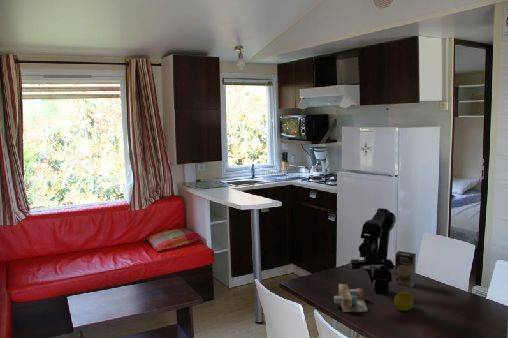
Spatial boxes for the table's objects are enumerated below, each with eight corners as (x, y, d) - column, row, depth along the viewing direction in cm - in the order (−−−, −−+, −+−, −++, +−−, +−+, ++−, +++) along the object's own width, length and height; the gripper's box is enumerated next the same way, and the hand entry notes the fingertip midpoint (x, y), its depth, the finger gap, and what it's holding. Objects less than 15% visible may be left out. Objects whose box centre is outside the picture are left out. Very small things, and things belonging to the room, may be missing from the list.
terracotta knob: (361, 295, 215) (361, 286, 214) (363, 299, 210) (363, 289, 210) (341, 295, 215) (341, 286, 215) (342, 298, 211) (342, 289, 210)
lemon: (404, 316, 195) (405, 298, 194) (389, 310, 201) (389, 293, 200) (418, 309, 202) (418, 292, 201) (403, 303, 208) (403, 287, 207)
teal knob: (355, 302, 207) (355, 292, 206) (356, 306, 203) (356, 296, 202) (333, 302, 208) (333, 292, 207) (334, 306, 203) (334, 296, 203)
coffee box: (394, 284, 231) (394, 253, 229) (397, 280, 236) (398, 250, 234) (412, 287, 226) (413, 256, 224) (415, 283, 231) (416, 253, 229)
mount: (361, 295, 217) (361, 284, 217) (367, 311, 200) (367, 299, 199) (338, 295, 218) (338, 283, 218) (342, 311, 201) (342, 299, 200)
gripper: (388, 243, 210) (388, 275, 213) (348, 244, 212) (348, 275, 214) (394, 251, 199) (393, 284, 202) (351, 251, 201) (351, 284, 203)
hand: (371, 282), depth 205 cm, fingers closed
